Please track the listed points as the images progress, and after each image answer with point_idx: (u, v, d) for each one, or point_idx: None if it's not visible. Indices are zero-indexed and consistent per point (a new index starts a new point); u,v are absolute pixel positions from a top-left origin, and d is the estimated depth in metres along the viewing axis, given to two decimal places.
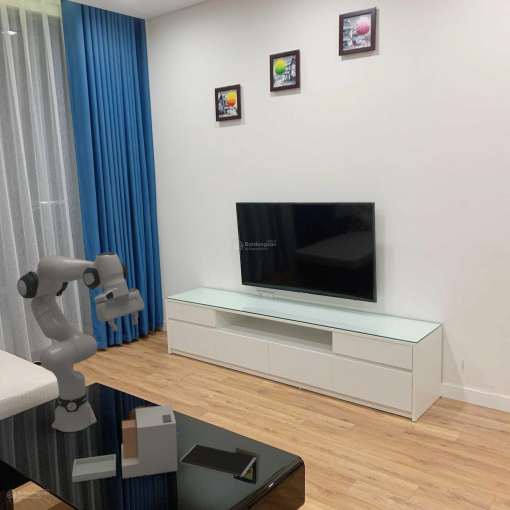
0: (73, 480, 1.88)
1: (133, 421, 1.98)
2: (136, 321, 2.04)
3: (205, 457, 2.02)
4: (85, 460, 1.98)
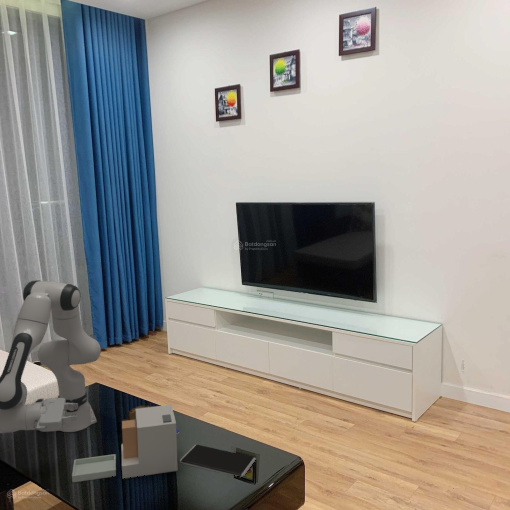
0: (73, 480, 1.88)
1: (133, 421, 1.98)
2: None
3: (205, 457, 2.02)
4: (85, 460, 1.98)
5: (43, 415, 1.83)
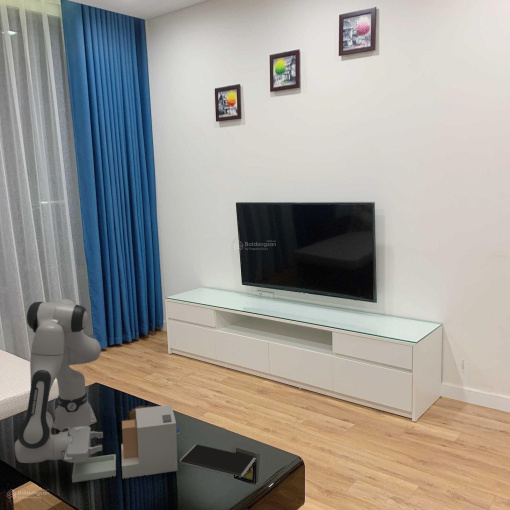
0: (73, 480, 1.88)
1: (133, 421, 1.98)
2: None
3: (205, 457, 2.02)
4: None
5: (70, 445, 1.87)
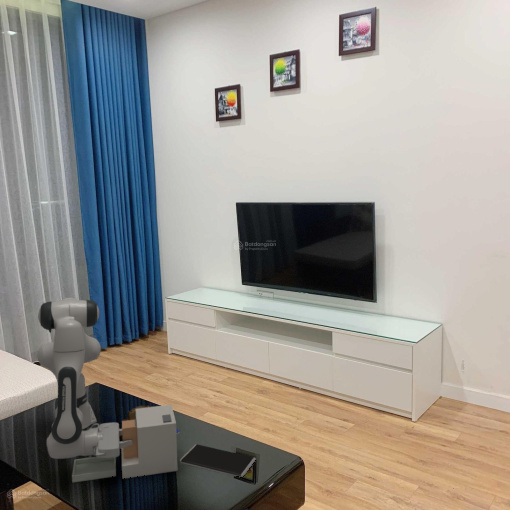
0: (73, 480, 1.88)
1: (133, 421, 1.98)
2: None
3: (205, 457, 2.02)
4: (85, 460, 1.98)
5: (101, 441, 1.90)
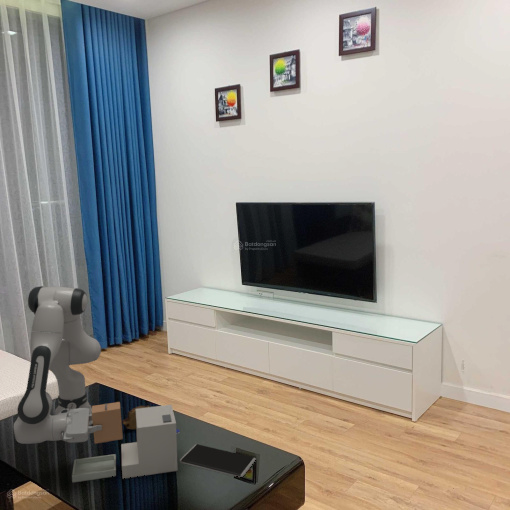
0: (73, 480, 1.88)
1: (103, 405, 1.94)
2: None
3: (205, 456, 2.02)
4: (85, 460, 1.98)
5: (69, 426, 1.86)
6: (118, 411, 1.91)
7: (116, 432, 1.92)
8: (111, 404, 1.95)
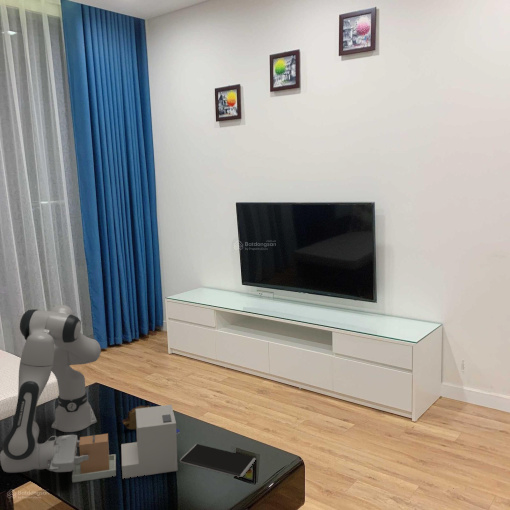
0: (73, 480, 1.88)
1: (91, 437, 1.94)
2: None
3: (205, 456, 2.02)
4: None
5: (56, 455, 1.86)
6: (106, 444, 1.92)
7: (103, 465, 1.93)
8: (99, 435, 1.96)
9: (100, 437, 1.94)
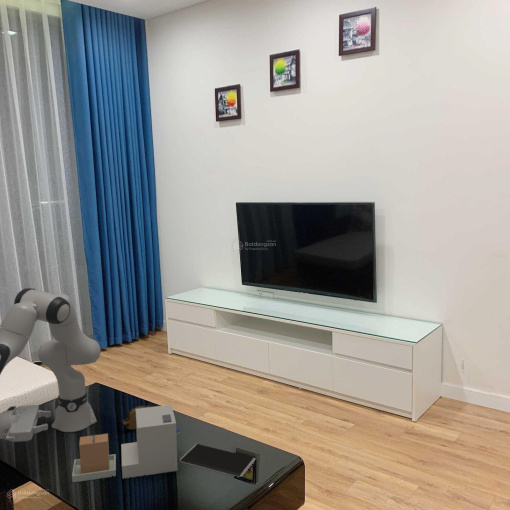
0: (73, 480, 1.88)
1: (91, 437, 1.94)
2: None
3: (205, 456, 2.02)
4: None
5: (14, 424, 1.81)
6: (106, 444, 1.92)
7: (103, 465, 1.93)
8: (99, 435, 1.96)
9: (100, 437, 1.94)
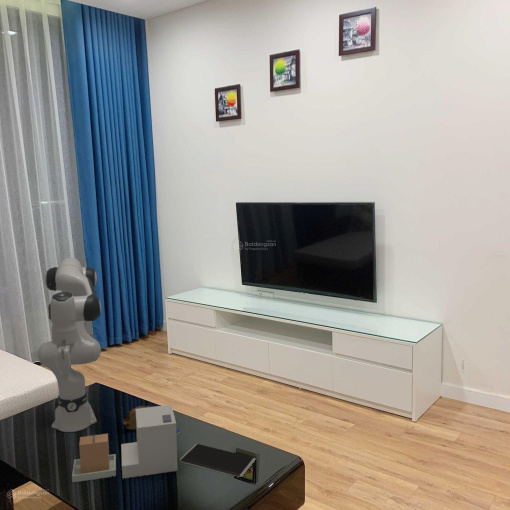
0: (73, 480, 1.88)
1: (91, 437, 1.94)
2: None
3: (205, 456, 2.02)
4: None
5: (69, 347, 1.88)
6: (106, 444, 1.92)
7: (103, 465, 1.93)
8: (99, 435, 1.96)
9: (100, 437, 1.94)
